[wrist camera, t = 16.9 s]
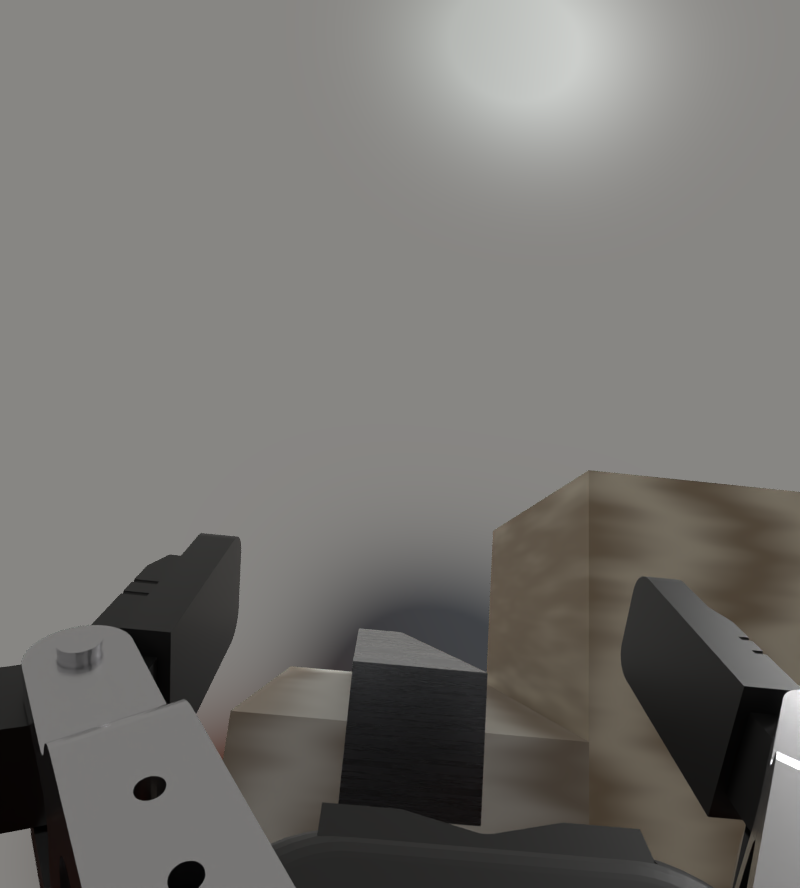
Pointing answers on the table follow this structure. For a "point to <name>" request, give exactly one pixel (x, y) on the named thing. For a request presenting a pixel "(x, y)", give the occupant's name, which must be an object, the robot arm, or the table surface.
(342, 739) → the stand
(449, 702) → the bar
